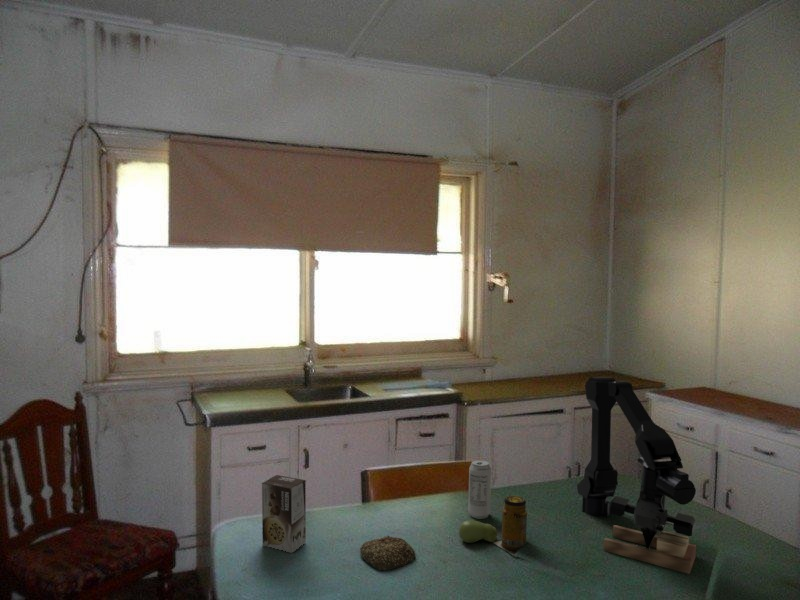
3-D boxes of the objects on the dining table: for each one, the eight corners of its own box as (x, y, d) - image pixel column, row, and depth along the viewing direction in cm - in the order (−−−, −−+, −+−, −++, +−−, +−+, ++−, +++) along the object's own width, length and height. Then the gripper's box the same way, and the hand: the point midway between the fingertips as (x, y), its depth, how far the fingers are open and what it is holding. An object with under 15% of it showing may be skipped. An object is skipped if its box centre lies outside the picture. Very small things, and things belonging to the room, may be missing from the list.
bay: (601, 558, 143) (602, 539, 143) (615, 537, 154) (615, 520, 153) (688, 582, 132) (689, 562, 132) (696, 558, 143) (697, 540, 143)
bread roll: (375, 575, 134) (375, 554, 134) (354, 551, 145) (354, 531, 145) (424, 562, 140) (425, 542, 140) (400, 540, 151) (400, 521, 151)
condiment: (515, 537, 153) (516, 491, 153) (538, 551, 146) (539, 503, 145) (493, 543, 150) (494, 497, 149) (515, 558, 142) (516, 509, 142)
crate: (656, 560, 139) (657, 538, 139) (660, 550, 144) (661, 529, 144) (684, 568, 136) (685, 545, 136) (688, 557, 141) (689, 536, 141)
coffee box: (306, 542, 148) (307, 479, 147) (291, 554, 143) (291, 488, 142) (276, 535, 152) (277, 473, 151) (261, 546, 146) (261, 482, 145)
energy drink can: (493, 513, 167) (494, 461, 166) (484, 521, 162) (485, 467, 161) (473, 508, 171) (475, 457, 170) (464, 516, 165) (465, 463, 165)
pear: (457, 516, 152) (492, 518, 155) (454, 536, 152) (489, 538, 155) (465, 525, 147) (502, 527, 150) (462, 546, 147) (498, 548, 150)
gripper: (604, 486, 140) (599, 549, 142) (691, 509, 130) (684, 577, 131) (616, 473, 149) (611, 532, 151) (698, 493, 139) (692, 557, 140)
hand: (647, 549), depth 143 cm, fingers closed
